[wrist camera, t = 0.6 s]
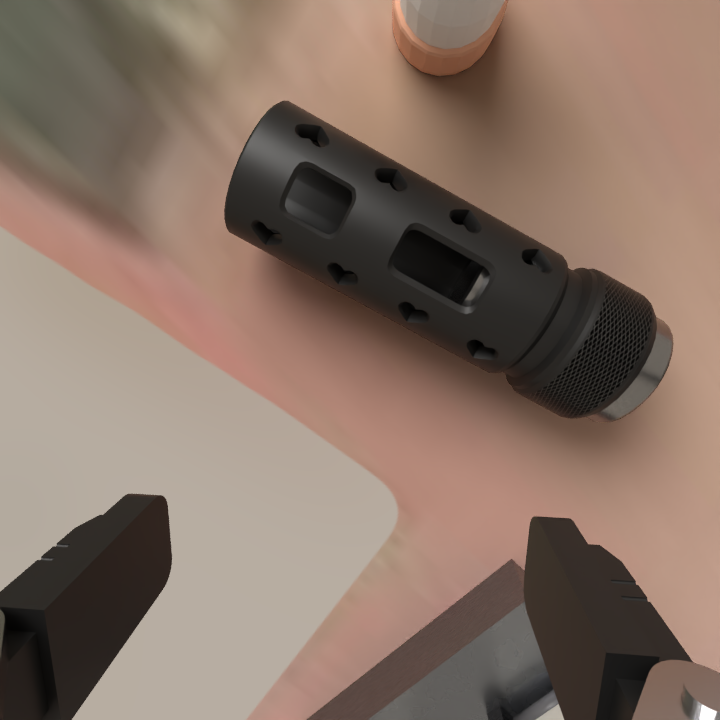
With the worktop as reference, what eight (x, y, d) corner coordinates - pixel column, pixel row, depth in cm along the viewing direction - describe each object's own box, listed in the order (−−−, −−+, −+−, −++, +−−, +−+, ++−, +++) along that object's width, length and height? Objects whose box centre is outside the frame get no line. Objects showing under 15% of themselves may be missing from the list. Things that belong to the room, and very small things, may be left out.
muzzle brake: (306, 121, 35) (273, 70, 25) (626, 301, 37) (715, 321, 27) (252, 238, 38) (202, 234, 28) (557, 403, 39) (615, 457, 29)
